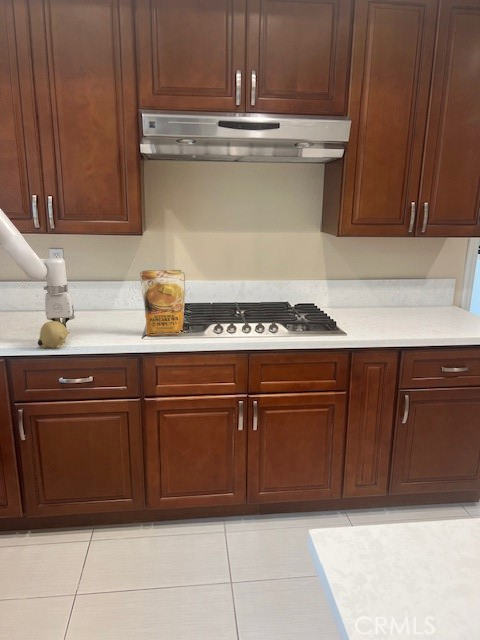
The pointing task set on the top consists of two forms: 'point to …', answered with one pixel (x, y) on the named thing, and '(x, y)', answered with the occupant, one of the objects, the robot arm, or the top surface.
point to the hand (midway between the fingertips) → (62, 333)
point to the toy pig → (52, 335)
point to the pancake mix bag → (163, 301)
